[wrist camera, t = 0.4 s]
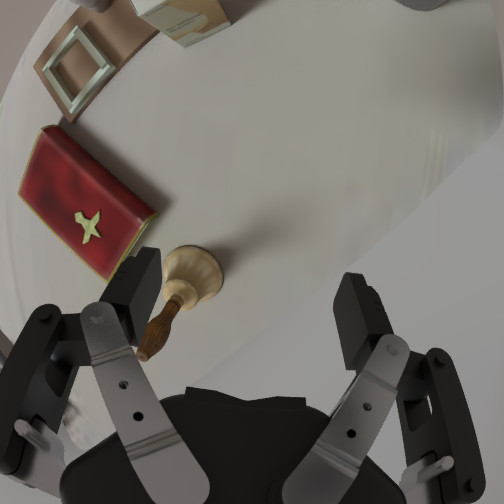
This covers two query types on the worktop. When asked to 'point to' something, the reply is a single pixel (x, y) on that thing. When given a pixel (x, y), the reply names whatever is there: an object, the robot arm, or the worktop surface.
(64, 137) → the hardcover book
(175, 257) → the hand bell
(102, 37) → the pin board
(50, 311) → the robot arm
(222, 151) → the worktop surface
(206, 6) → the skincare box
